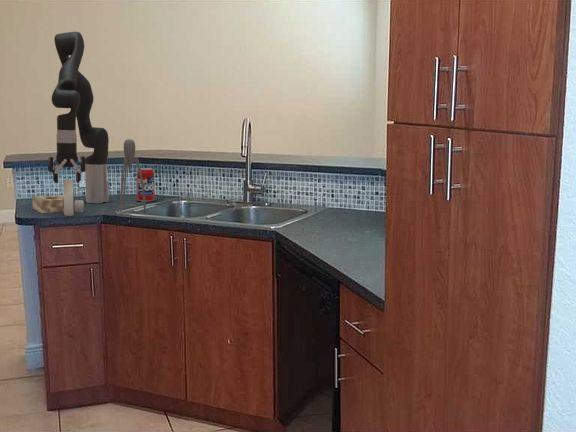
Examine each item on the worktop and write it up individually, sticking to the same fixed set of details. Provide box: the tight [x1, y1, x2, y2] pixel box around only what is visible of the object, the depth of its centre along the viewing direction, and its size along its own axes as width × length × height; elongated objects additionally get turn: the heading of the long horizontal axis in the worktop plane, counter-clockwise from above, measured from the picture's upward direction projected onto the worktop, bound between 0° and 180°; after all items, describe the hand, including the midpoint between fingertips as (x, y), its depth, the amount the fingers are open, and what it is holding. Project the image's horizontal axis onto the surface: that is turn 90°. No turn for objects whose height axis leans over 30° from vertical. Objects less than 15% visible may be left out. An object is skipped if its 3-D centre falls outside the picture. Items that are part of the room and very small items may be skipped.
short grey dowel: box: [73, 199, 85, 213], centre depth 294 cm, size 4×4×4 cm
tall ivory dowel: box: [62, 179, 75, 217], centre depth 284 cm, size 4×4×14 cm
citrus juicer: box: [119, 138, 147, 213], centre depth 295 cm, size 11×10×30 cm
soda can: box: [136, 167, 155, 203], centre depth 326 cm, size 8×8×15 cm
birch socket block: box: [31, 195, 64, 214], centre depth 296 cm, size 12×12×5 cm
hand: (67, 182), depth 283 cm, fingers open, 8 cm apart
